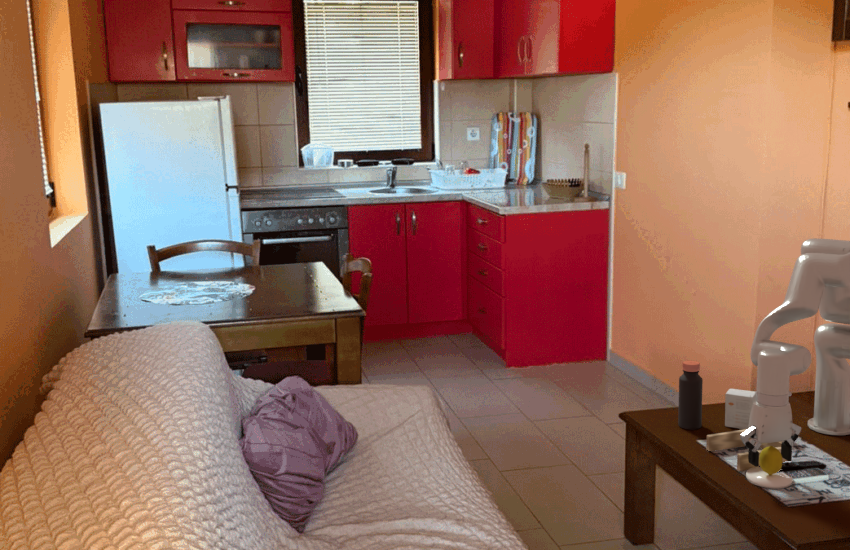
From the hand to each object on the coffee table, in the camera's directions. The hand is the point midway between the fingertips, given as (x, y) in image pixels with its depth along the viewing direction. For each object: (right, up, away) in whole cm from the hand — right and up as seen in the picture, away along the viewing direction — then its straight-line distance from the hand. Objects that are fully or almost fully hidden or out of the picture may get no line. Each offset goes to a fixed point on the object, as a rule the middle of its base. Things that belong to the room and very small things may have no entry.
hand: (769, 461), depth 209 cm
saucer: (0, -5, +1) cm, 5 cm away
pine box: (0, -2, +15) cm, 15 cm away
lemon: (+1, -4, +1) cm, 4 cm away
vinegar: (-8, +2, +38) cm, 39 cm away
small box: (+7, +2, +37) cm, 38 cm away
